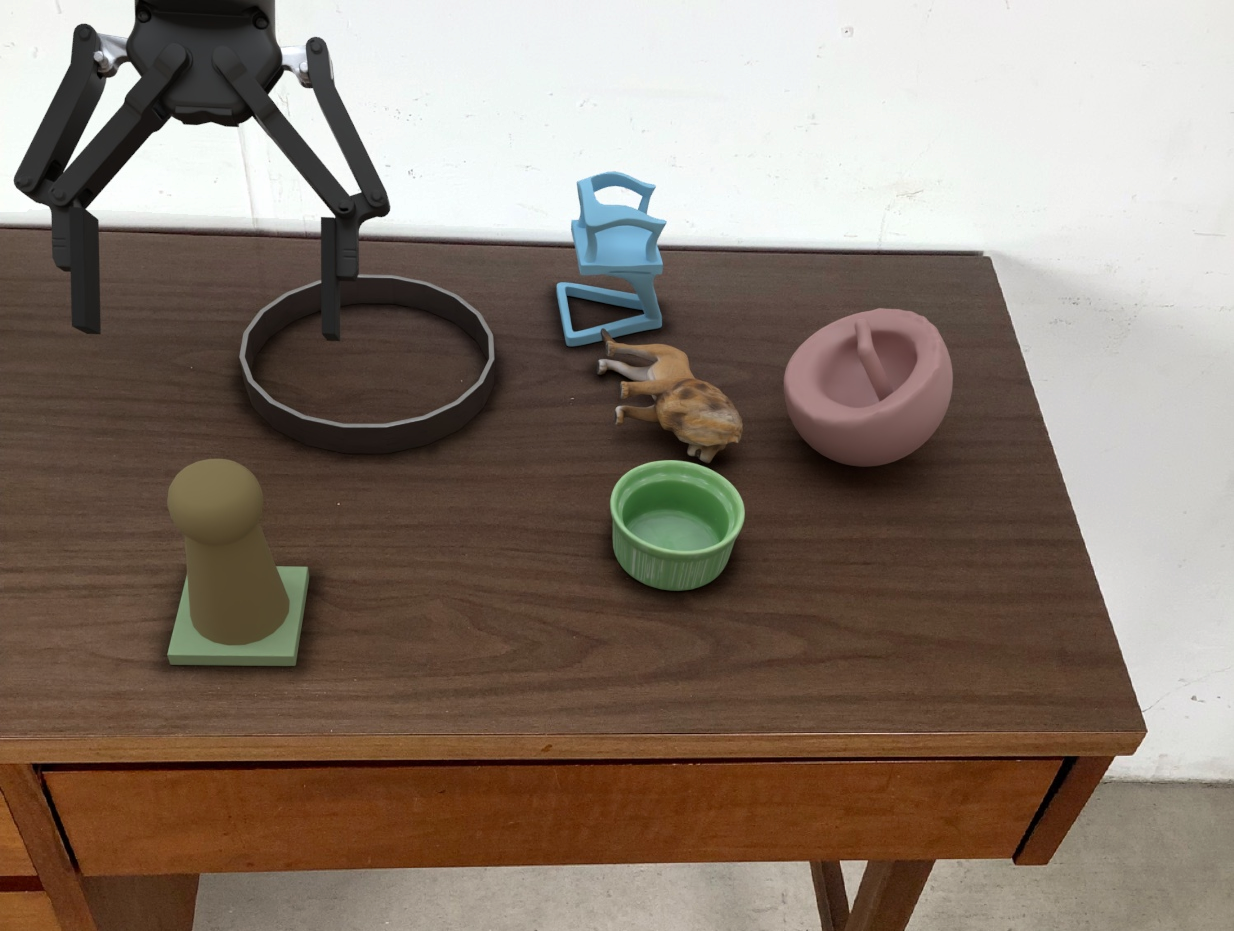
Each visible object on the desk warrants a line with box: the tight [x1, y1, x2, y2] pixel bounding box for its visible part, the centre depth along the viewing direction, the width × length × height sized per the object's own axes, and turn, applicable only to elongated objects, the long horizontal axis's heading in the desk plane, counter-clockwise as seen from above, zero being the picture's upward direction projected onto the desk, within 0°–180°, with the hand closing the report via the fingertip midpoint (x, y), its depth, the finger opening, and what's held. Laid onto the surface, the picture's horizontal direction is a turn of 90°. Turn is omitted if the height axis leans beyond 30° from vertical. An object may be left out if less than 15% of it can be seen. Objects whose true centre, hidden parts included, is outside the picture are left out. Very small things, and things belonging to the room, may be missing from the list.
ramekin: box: [609, 459, 746, 592], centre depth 82 cm, size 9×9×4 cm
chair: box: [556, 170, 668, 347], centre depth 97 cm, size 8×8×12 cm
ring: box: [238, 273, 495, 455], centre depth 93 cm, size 19×19×2 cm
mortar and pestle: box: [782, 307, 954, 468], centre depth 89 cm, size 12×12×12 cm
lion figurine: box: [596, 328, 744, 464], centre depth 92 cm, size 15×5×9 cm
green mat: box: [166, 565, 310, 667], centre depth 77 cm, size 8×8×1 cm
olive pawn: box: [166, 458, 290, 645], centre depth 72 cm, size 6×6×11 cm
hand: (210, 334), depth 70 cm, fingers open, 13 cm apart
